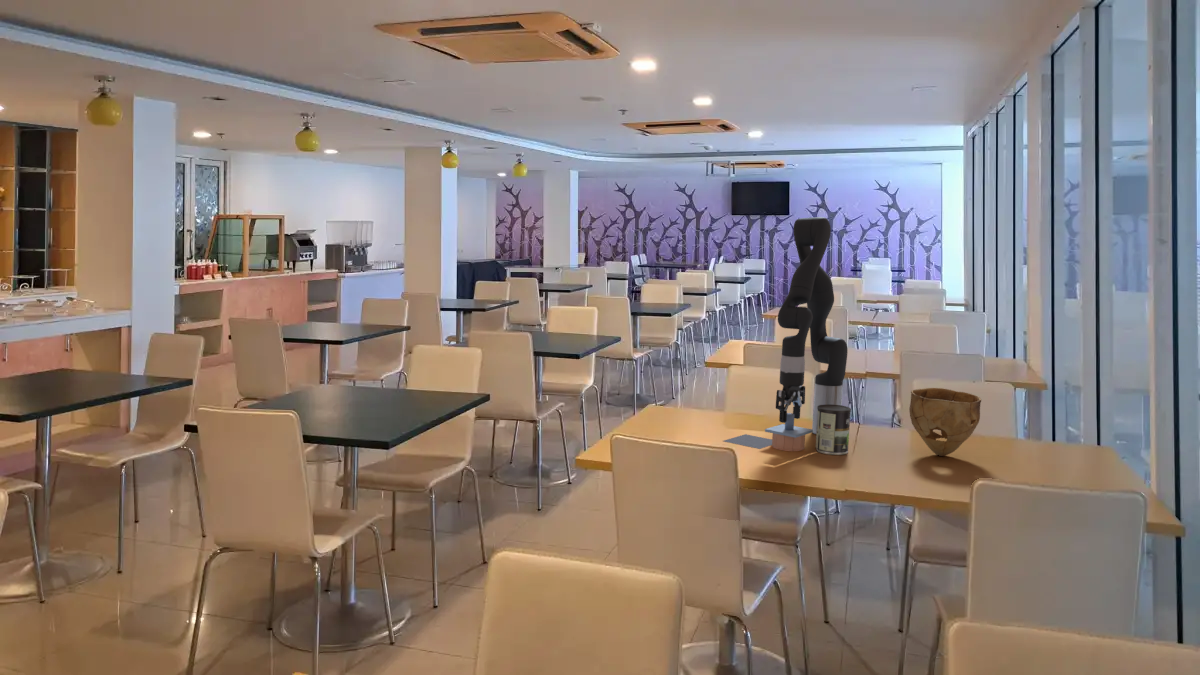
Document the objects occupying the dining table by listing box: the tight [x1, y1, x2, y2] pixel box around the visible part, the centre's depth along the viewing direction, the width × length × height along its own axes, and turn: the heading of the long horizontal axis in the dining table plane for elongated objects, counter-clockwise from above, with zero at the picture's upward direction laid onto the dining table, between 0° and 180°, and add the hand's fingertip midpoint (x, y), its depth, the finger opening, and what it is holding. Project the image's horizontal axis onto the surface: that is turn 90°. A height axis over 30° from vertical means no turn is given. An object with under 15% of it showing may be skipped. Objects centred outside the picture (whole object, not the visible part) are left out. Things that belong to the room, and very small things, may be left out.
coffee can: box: [815, 404, 852, 456], centre depth 295 cm, size 10×10×14 cm
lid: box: [764, 412, 813, 438], centre depth 296 cm, size 11×11×6 cm
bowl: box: [908, 387, 982, 457], centre depth 292 cm, size 21×20×20 cm
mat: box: [723, 433, 772, 450], centre depth 303 cm, size 14×14×1 cm
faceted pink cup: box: [771, 433, 806, 452], centre depth 296 cm, size 10×10×6 cm
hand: (789, 420), depth 295 cm, fingers open, 8 cm apart
